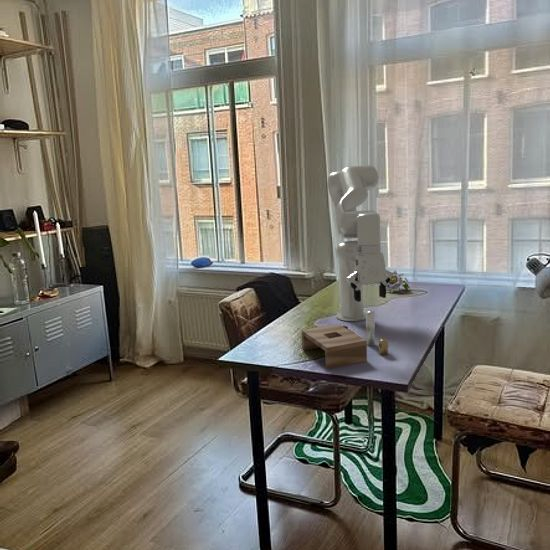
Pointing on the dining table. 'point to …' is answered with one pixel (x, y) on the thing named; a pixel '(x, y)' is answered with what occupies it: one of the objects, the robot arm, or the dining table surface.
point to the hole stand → (336, 345)
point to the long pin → (370, 327)
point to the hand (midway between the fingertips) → (370, 299)
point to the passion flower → (397, 282)
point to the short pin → (383, 346)
